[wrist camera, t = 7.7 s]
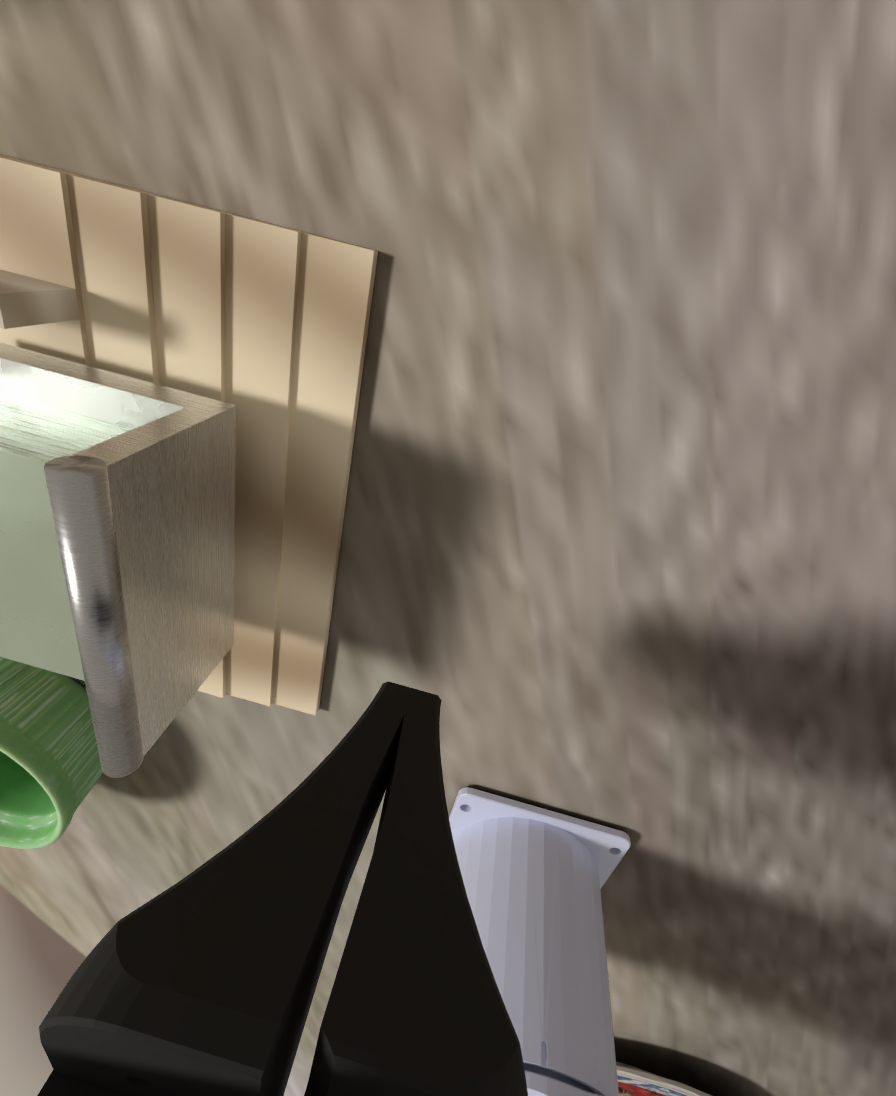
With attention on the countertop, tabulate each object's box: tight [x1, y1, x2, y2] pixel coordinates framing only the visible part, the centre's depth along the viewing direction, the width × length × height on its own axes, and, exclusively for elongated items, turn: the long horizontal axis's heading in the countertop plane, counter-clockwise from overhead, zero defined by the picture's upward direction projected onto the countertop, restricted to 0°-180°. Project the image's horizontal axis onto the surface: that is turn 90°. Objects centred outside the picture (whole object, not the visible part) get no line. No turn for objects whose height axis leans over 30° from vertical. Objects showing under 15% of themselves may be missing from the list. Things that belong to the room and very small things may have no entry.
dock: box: [0, 155, 378, 715], centre depth 17 cm, size 18×15×4 cm
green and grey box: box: [0, 342, 236, 778], centre depth 15 cm, size 9×8×6 cm
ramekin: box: [0, 657, 103, 849], centre depth 25 cm, size 9×9×4 cm
